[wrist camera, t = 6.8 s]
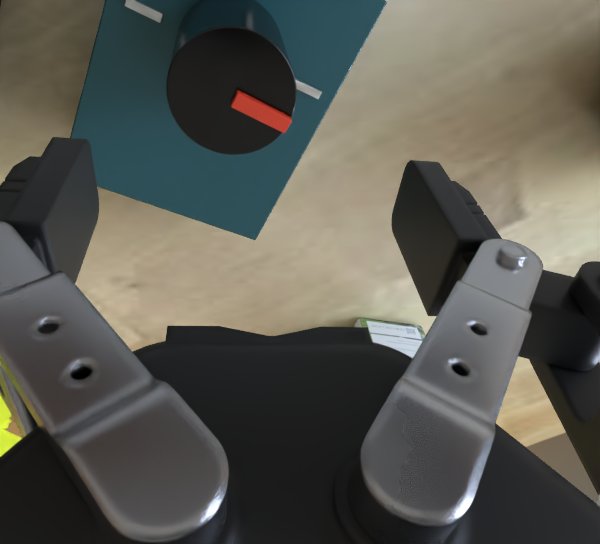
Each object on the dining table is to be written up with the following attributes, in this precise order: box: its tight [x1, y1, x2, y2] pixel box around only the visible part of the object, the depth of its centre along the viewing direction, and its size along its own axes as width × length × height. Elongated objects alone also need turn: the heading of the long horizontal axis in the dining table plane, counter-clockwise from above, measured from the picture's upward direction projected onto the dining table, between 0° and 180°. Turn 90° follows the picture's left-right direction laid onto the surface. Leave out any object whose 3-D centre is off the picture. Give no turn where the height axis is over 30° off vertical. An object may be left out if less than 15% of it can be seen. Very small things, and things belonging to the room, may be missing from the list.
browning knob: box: [166, 0, 297, 155], centre depth 19 cm, size 4×4×5 cm
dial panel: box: [70, 0, 386, 240], centre depth 24 cm, size 13×10×5 cm
